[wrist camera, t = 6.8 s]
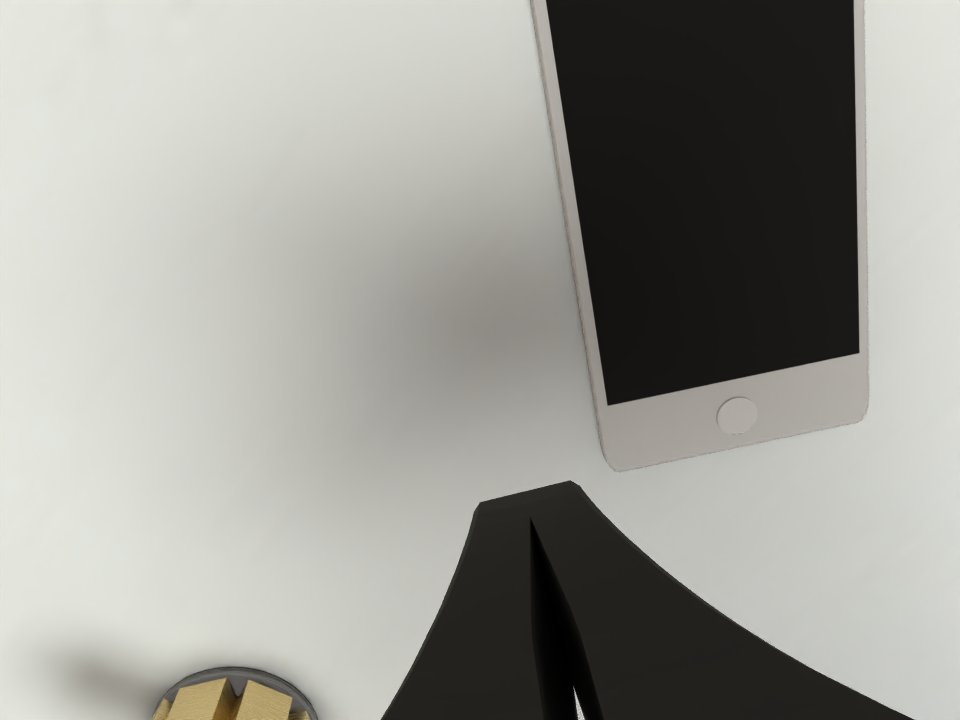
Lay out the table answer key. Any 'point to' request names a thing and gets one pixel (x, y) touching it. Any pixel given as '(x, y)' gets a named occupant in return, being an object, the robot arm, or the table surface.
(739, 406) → the smartphone
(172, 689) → the base
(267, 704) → the ring nut
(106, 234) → the table surface
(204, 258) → the table surface
